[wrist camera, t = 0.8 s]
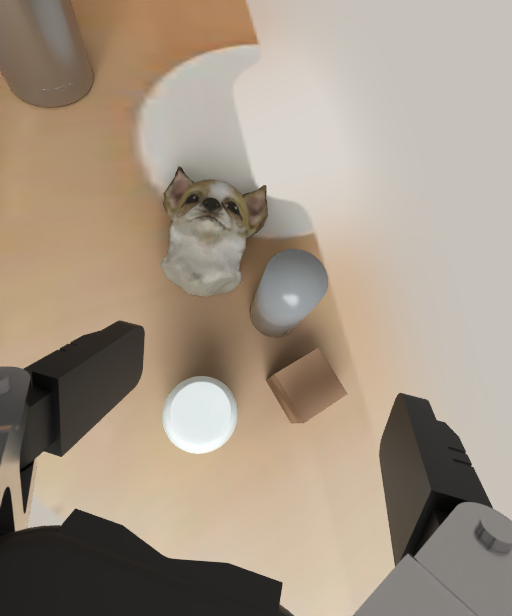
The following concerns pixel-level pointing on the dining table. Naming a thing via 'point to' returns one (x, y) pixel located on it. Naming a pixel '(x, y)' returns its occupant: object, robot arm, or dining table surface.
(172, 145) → the dining table surface
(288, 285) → the light grey cylinder
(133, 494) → the dining table surface
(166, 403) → the supplement bottle
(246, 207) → the ceramic sculpture
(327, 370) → the walnut block
